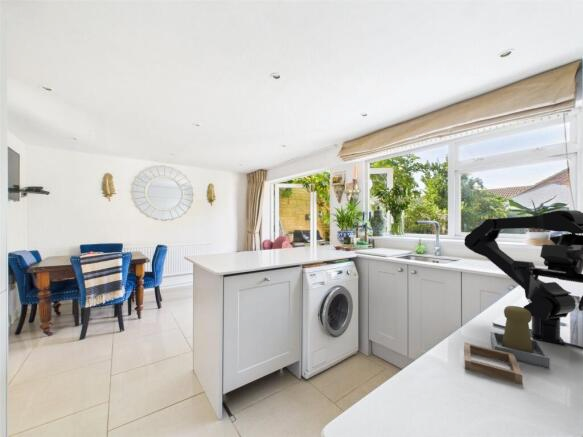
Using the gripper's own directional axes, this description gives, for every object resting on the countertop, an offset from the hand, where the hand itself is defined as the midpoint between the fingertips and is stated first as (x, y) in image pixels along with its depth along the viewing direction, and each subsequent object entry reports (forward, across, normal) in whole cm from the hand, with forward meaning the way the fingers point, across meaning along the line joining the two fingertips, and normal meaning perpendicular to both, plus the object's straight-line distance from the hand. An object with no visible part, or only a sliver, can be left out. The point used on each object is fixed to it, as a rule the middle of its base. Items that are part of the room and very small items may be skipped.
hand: (551, 303), depth 60 cm
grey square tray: (+12, -5, +7) cm, 15 cm away
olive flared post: (+12, -6, +7) cm, 15 cm away
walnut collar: (+21, -6, -1) cm, 21 cm away
